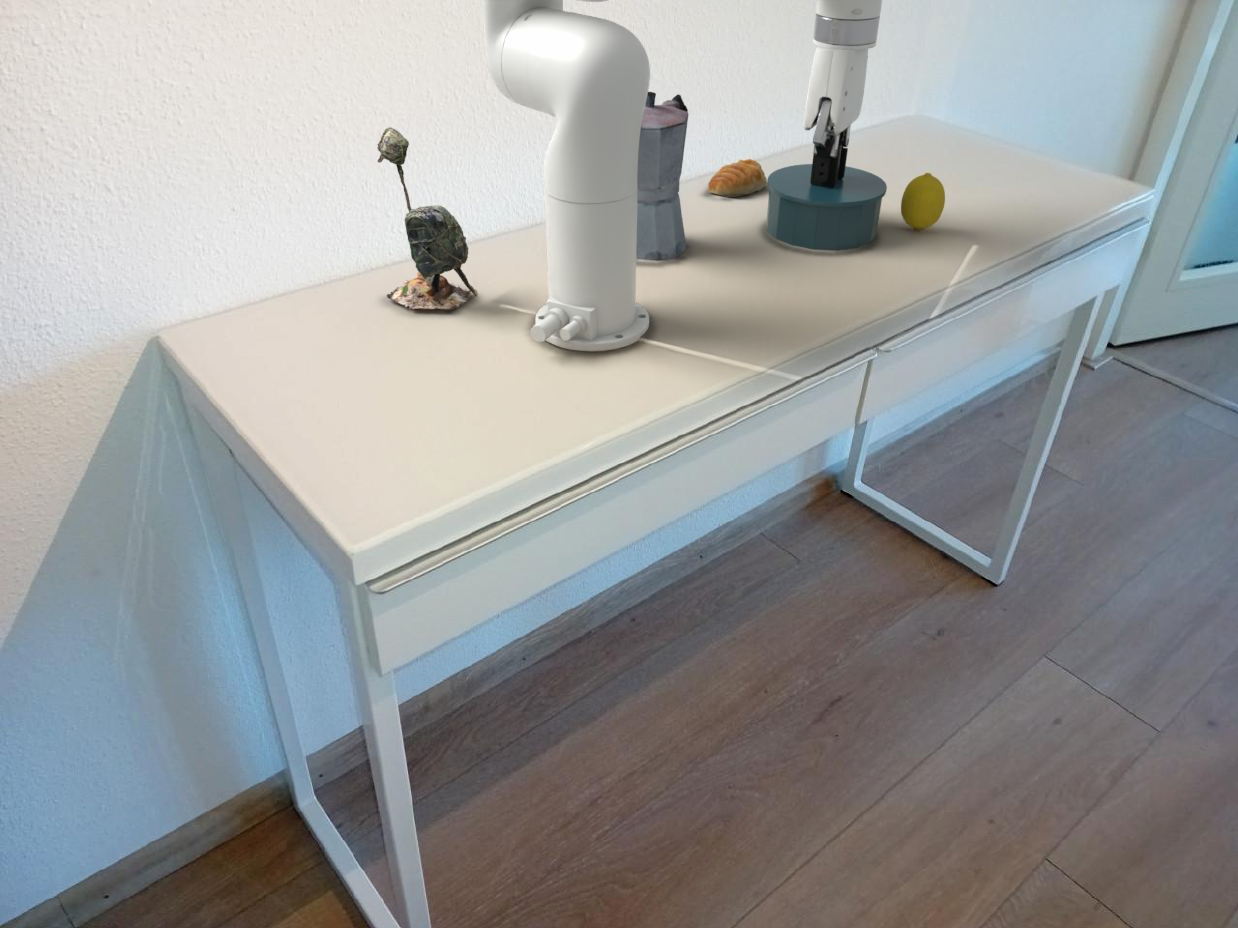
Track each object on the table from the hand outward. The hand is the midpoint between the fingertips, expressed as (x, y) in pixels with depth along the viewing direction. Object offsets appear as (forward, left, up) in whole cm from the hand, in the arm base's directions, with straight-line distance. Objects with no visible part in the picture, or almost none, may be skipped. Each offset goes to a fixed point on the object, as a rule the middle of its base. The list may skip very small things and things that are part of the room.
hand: (827, 180), depth 128 cm
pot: (0, 0, -7) cm, 7 cm away
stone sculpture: (-42, +33, -7) cm, 54 cm away
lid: (0, 0, -1) cm, 1 cm away
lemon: (+7, -11, -7) cm, 15 cm away
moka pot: (-16, +18, -7) cm, 25 cm away
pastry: (+11, +17, -7) cm, 21 cm away
